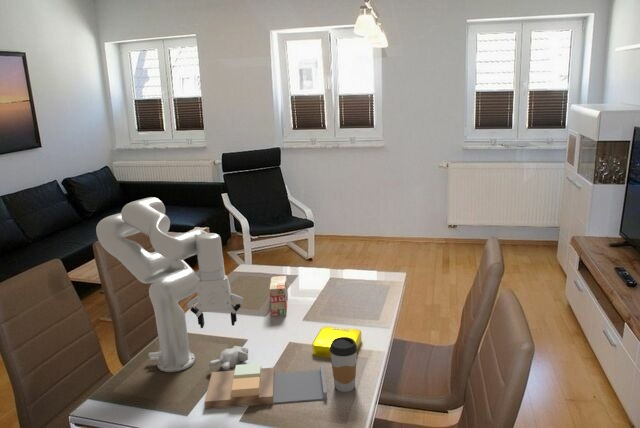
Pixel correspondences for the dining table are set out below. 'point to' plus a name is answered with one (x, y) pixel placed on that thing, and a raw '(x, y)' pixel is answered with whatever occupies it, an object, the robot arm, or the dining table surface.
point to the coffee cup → (343, 363)
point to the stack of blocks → (278, 296)
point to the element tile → (330, 333)
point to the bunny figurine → (231, 357)
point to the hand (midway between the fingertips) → (218, 325)
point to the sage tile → (247, 371)
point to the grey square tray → (299, 386)
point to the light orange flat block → (246, 387)
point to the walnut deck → (222, 390)
